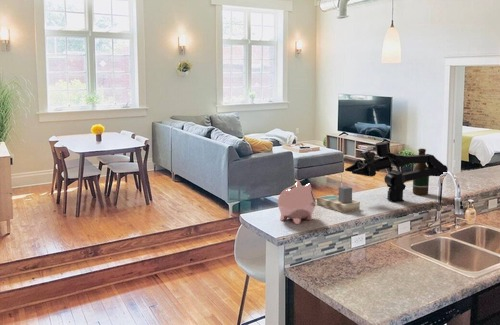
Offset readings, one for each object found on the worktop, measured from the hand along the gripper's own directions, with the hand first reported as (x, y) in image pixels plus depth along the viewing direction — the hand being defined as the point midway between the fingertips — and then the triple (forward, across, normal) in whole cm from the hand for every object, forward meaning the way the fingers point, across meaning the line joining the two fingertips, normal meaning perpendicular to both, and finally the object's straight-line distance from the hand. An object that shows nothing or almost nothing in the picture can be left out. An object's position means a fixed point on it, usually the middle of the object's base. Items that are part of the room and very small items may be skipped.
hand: (348, 171), depth 231 cm
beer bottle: (-40, -11, +23) cm, 48 cm away
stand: (+9, +3, +15) cm, 18 cm away
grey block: (+7, +8, +12) cm, 16 cm away
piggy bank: (+33, +18, +12) cm, 40 cm away
